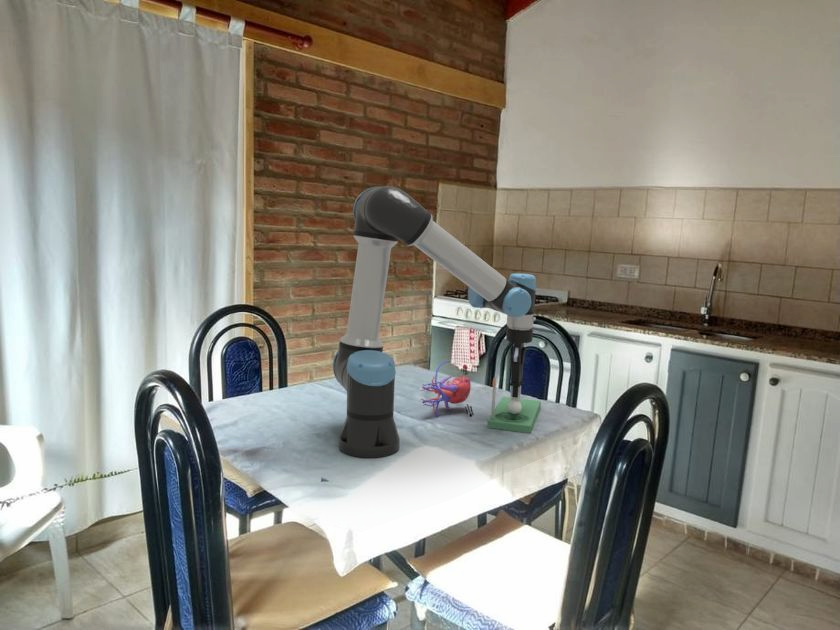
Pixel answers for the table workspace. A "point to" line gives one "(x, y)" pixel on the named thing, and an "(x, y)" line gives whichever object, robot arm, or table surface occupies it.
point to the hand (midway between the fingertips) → (514, 406)
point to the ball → (514, 407)
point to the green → (513, 421)
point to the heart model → (450, 391)
